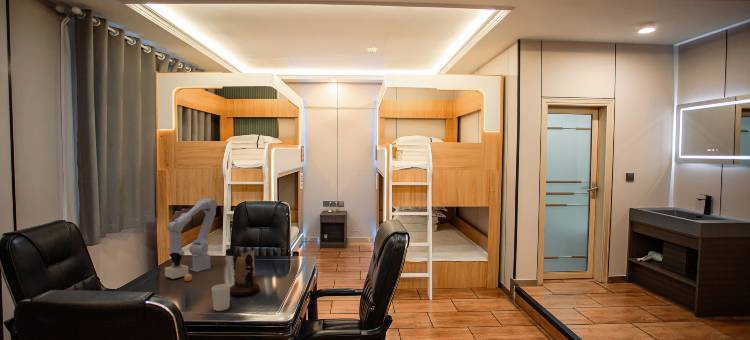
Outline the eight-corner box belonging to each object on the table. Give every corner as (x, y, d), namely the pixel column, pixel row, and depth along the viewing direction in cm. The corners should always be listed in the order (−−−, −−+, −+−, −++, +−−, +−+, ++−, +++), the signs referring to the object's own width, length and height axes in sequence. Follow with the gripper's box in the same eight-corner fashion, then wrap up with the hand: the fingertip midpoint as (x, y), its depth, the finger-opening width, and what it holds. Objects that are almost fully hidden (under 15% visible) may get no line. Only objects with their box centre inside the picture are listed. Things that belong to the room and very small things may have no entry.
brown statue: (222, 296, 187) (221, 256, 186) (241, 285, 201) (240, 249, 200) (247, 299, 183) (246, 259, 182) (264, 288, 197) (263, 251, 196)
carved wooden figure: (253, 275, 218) (252, 249, 218) (262, 277, 214) (261, 251, 214) (237, 281, 208) (236, 254, 208) (246, 283, 205) (245, 256, 204)
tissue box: (180, 272, 223) (180, 258, 223) (188, 274, 218) (188, 261, 218) (164, 276, 216) (164, 262, 215) (172, 278, 210) (172, 265, 210)
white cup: (224, 312, 168) (223, 290, 168) (208, 311, 170) (207, 289, 169) (234, 305, 176) (233, 284, 175) (219, 304, 177) (218, 283, 177)
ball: (192, 281, 211) (189, 276, 213) (194, 276, 210) (191, 271, 211) (185, 283, 208) (182, 278, 210) (187, 278, 206) (184, 273, 208)
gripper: (162, 242, 217) (163, 265, 217) (175, 245, 208) (176, 269, 209) (174, 239, 223) (175, 262, 223) (187, 242, 214) (188, 266, 215)
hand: (176, 265), depth 217 cm, fingers closed on tissue box
